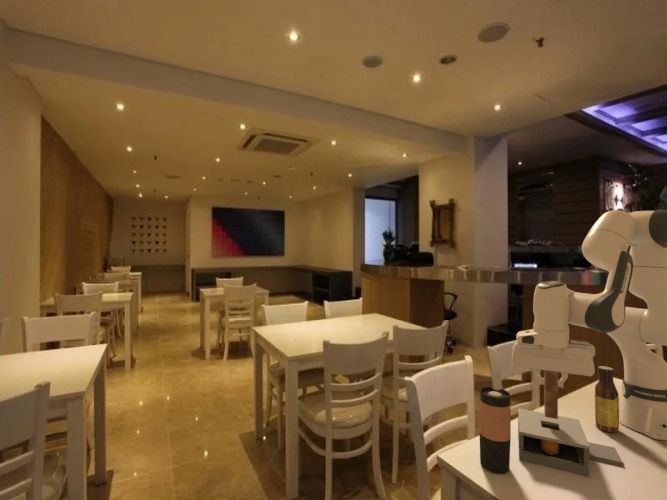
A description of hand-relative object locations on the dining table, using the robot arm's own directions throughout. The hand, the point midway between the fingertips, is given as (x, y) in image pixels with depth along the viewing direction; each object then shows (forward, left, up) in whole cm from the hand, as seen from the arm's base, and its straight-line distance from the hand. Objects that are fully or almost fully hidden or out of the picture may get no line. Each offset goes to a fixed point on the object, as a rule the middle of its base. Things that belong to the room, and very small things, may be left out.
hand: (550, 385), depth 101 cm
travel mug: (+14, +14, -20) cm, 28 cm away
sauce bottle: (-18, -25, -20) cm, 36 cm away
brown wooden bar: (0, 0, -9) cm, 9 cm away
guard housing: (0, 0, -19) cm, 19 cm away
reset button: (0, 0, -18) cm, 18 cm away
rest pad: (-13, -6, -19) cm, 24 cm away
